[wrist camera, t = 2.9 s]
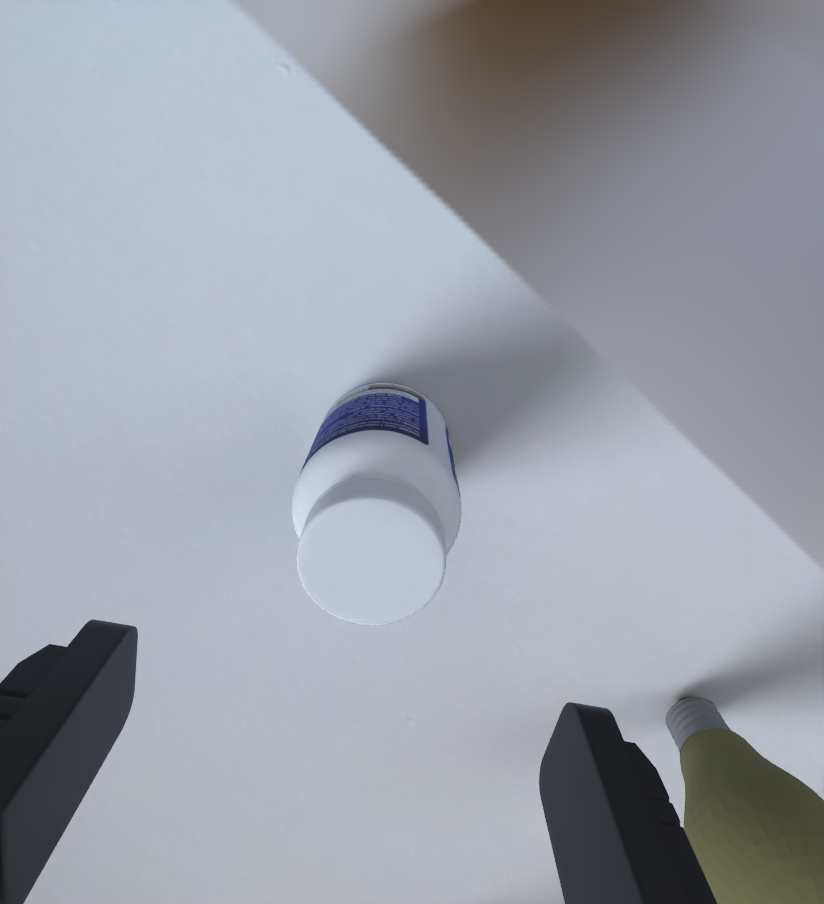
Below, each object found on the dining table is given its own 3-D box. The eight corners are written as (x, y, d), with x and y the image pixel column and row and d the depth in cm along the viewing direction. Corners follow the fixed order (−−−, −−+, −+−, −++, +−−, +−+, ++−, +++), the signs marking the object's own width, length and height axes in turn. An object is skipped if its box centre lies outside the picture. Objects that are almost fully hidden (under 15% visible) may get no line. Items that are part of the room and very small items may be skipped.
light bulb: (713, 639, 27) (872, 858, 18) (762, 714, 29) (929, 951, 19) (606, 693, 28) (702, 925, 19) (658, 763, 30) (770, 1007, 21)
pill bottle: (292, 440, 24) (226, 557, 15) (387, 352, 22) (370, 429, 14) (383, 526, 25) (368, 676, 17) (477, 448, 24) (512, 569, 15)
